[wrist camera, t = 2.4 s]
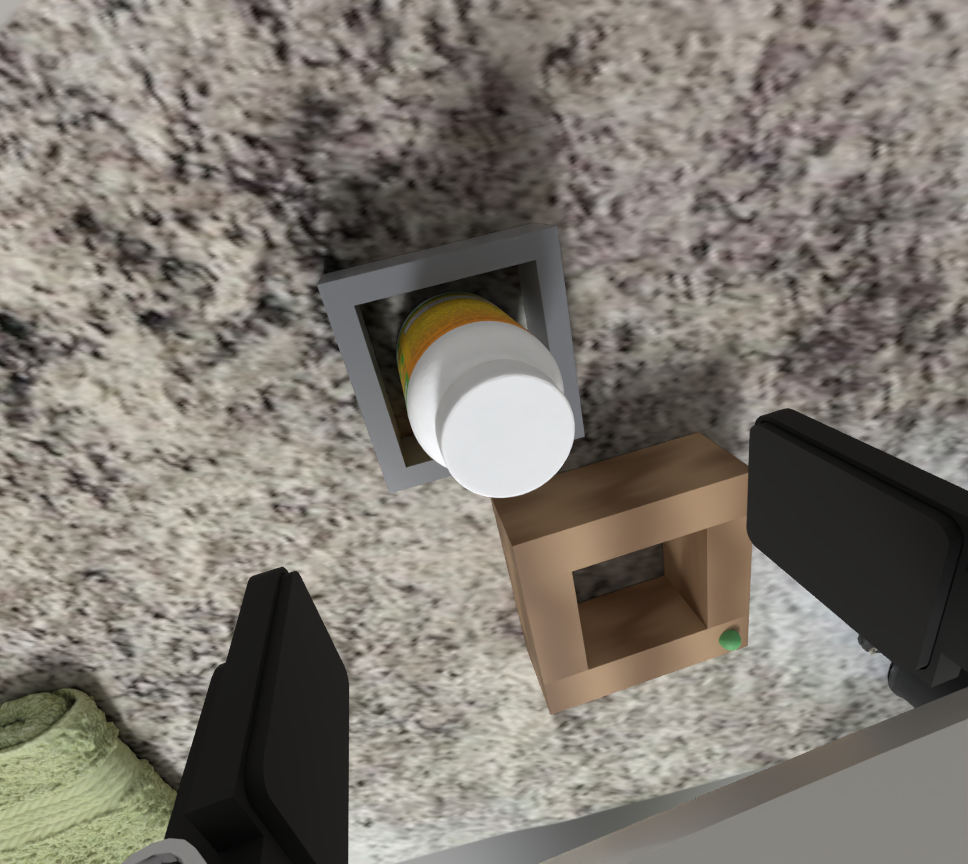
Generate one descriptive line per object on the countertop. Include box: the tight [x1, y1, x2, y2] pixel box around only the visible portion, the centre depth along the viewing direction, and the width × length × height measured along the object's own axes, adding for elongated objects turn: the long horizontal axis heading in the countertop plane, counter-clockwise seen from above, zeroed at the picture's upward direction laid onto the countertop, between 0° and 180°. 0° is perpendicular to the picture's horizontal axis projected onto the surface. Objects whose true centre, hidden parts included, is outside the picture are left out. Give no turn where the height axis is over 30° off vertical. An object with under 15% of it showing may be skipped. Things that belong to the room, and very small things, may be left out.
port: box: [491, 432, 752, 715], centre depth 28 cm, size 12×12×5 cm
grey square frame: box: [317, 223, 585, 493], centre depth 22 cm, size 9×9×3 cm
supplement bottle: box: [396, 291, 575, 498], centre depth 19 cm, size 5×5×10 cm
